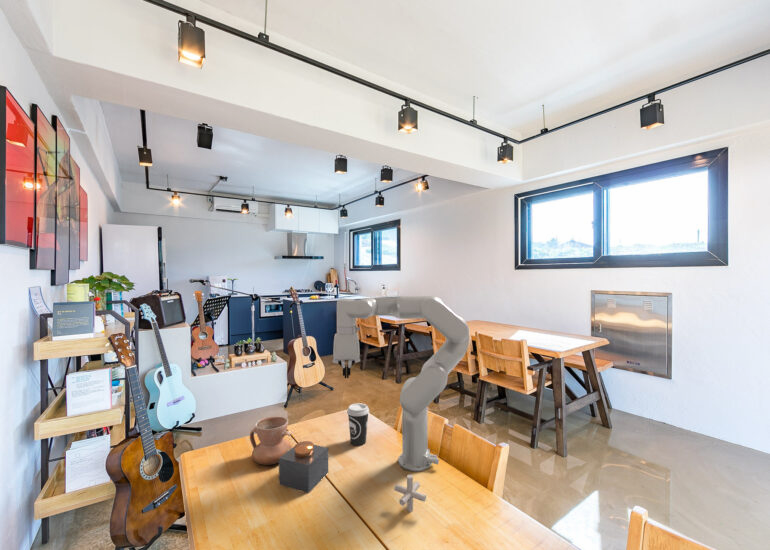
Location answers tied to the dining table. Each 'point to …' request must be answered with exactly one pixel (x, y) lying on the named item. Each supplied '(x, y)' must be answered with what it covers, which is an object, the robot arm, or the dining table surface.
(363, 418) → the coffee cup
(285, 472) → the hitch block
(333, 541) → the dining table surface
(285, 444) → the ceramic jug
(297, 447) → the copper pin
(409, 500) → the light grey toy jack
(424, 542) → the dining table surface
